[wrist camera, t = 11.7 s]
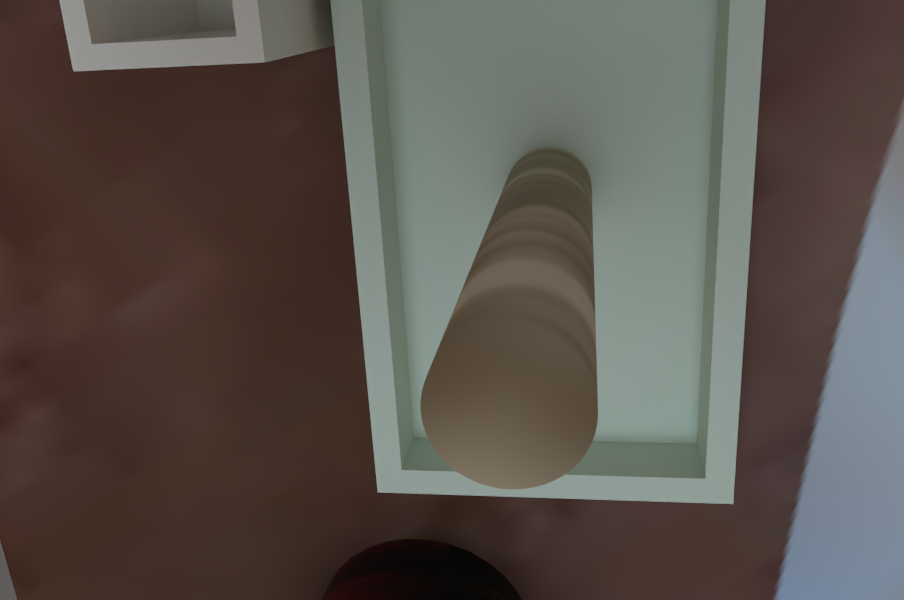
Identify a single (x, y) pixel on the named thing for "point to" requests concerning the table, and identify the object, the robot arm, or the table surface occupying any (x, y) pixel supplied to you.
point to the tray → (613, 208)
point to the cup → (192, 31)
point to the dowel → (522, 336)
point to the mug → (418, 574)
